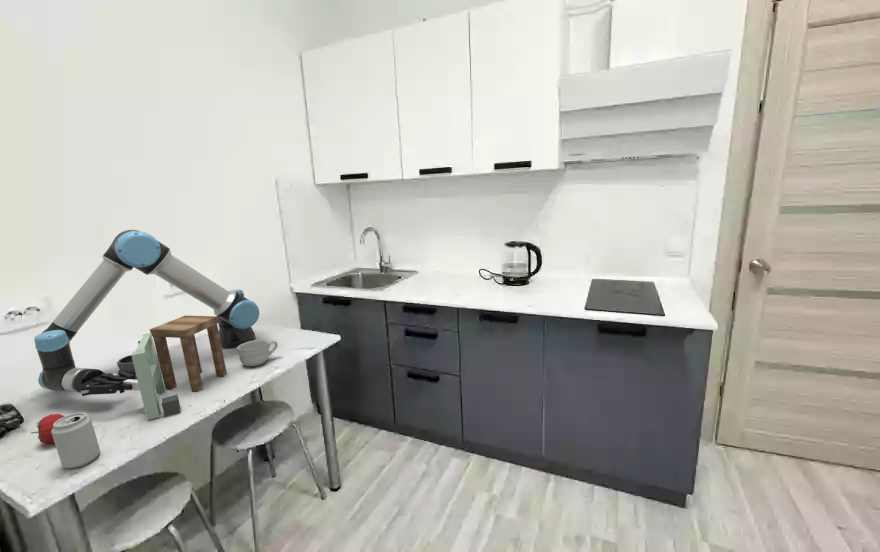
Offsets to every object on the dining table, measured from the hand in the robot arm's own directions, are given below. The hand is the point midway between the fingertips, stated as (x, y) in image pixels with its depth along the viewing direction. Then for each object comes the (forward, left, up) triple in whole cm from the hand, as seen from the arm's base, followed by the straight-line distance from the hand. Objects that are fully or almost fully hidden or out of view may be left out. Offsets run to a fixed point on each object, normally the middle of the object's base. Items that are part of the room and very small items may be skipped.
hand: (143, 385), depth 124 cm
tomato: (+19, -11, -9) cm, 24 cm away
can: (+21, +7, -9) cm, 24 cm away
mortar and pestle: (-16, -33, -9) cm, 38 cm away
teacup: (-38, +5, -9) cm, 39 cm away
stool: (-19, -5, -9) cm, 21 cm away
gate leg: (-4, -2, -8) cm, 10 cm away
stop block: (-2, +7, -9) cm, 12 cm away
